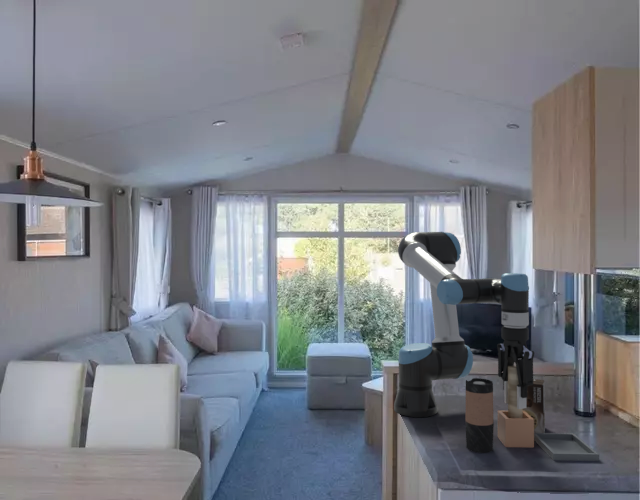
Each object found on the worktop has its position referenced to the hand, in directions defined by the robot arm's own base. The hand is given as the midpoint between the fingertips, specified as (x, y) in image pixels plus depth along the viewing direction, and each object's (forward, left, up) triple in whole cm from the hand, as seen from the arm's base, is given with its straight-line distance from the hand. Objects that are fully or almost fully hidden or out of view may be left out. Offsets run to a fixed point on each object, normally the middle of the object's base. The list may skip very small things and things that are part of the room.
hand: (515, 405), depth 156 cm
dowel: (0, 0, -11) cm, 11 cm away
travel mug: (+5, -12, -12) cm, 17 cm away
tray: (+5, +12, -12) cm, 18 cm away
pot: (0, 0, -12) cm, 12 cm away
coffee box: (-12, +8, -12) cm, 19 cm away
